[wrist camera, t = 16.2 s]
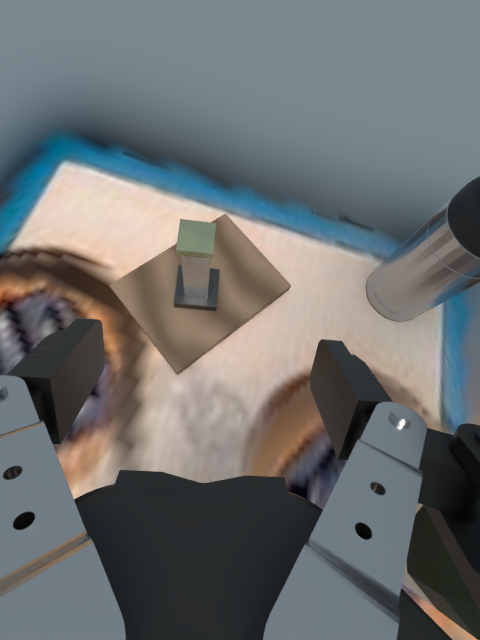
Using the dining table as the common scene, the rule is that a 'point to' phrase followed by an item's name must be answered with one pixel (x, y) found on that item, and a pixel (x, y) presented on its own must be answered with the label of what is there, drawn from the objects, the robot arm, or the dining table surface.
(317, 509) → the robot arm
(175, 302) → the square capped column
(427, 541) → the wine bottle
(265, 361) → the dining table surface
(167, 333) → the serving board
